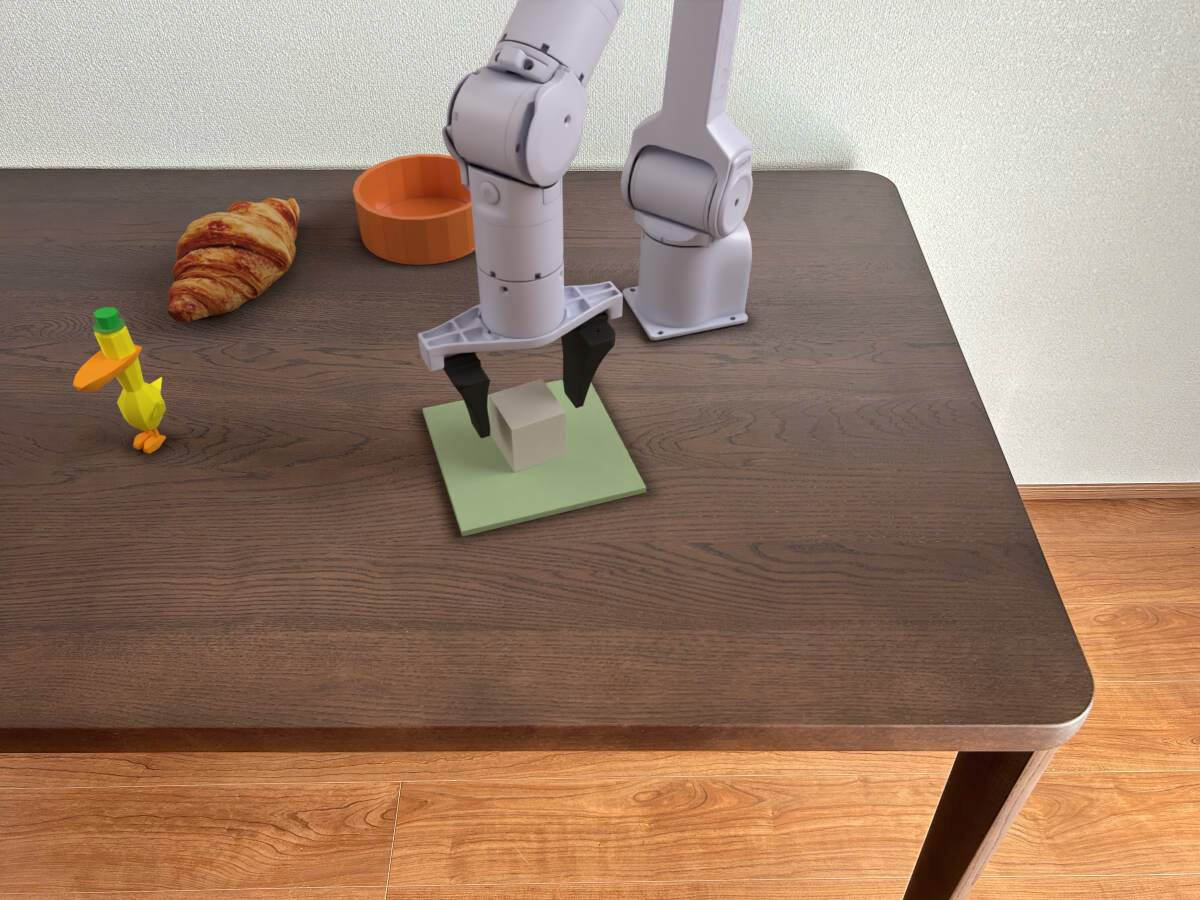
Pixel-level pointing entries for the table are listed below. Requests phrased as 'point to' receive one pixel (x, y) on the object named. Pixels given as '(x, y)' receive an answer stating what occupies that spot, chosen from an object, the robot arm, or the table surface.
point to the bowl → (415, 210)
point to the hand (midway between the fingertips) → (528, 414)
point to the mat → (557, 486)
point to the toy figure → (124, 378)
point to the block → (528, 425)
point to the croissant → (232, 257)
